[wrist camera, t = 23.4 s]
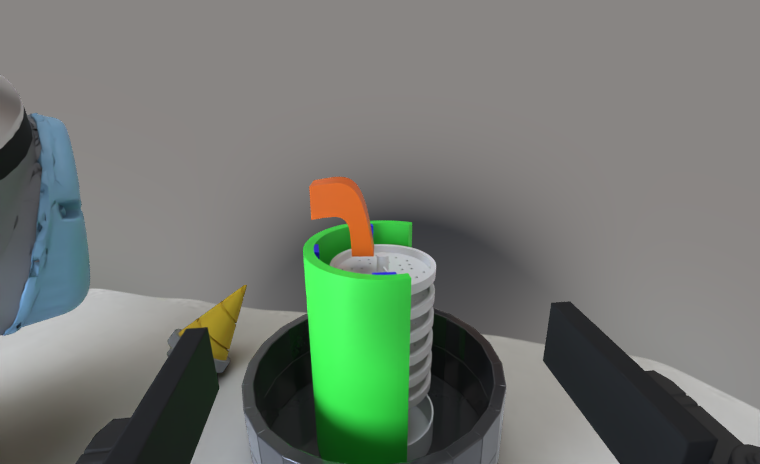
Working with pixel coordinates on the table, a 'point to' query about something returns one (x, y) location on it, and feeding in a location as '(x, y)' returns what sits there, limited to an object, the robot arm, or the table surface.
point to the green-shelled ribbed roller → (368, 332)
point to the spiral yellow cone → (217, 327)
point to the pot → (447, 393)
